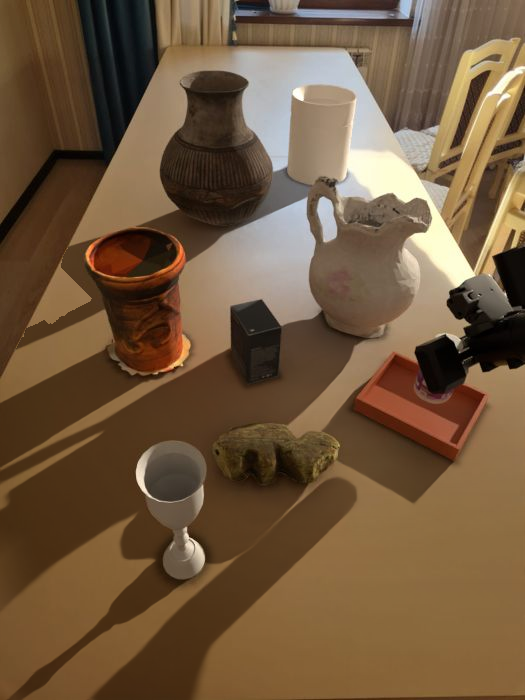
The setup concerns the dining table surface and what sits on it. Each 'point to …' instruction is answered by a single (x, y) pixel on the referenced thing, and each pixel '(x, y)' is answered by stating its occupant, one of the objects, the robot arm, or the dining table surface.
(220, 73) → the vase
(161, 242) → the vessel
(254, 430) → the sculpture
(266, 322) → the box
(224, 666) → the dining table surface
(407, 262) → the ceramic pitcher
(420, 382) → the pill bottle
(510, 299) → the robot arm
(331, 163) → the canister
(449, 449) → the tray
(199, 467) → the chalice
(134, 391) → the dining table surface
